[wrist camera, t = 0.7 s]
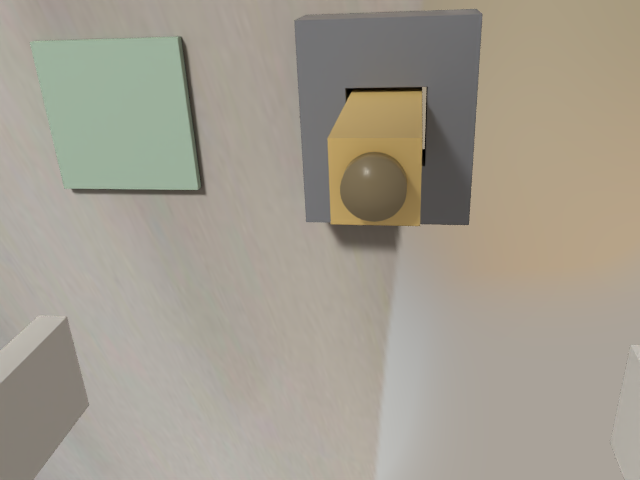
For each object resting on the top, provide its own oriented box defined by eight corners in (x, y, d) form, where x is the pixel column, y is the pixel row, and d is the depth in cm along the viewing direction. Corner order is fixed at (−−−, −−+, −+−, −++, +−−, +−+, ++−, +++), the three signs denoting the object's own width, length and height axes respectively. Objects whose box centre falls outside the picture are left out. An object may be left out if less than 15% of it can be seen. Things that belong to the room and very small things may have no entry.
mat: (35, 41, 39) (29, 42, 39) (180, 36, 38) (177, 37, 37) (68, 185, 43) (64, 188, 43) (201, 186, 42) (198, 190, 41)
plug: (356, 82, 37) (323, 144, 25) (421, 80, 37) (422, 144, 24) (357, 144, 39) (327, 233, 26) (420, 144, 38) (420, 235, 26)
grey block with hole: (305, 14, 36) (294, 20, 33) (476, 9, 34) (482, 14, 31) (315, 201, 41) (306, 221, 38) (465, 203, 40) (468, 224, 36)
